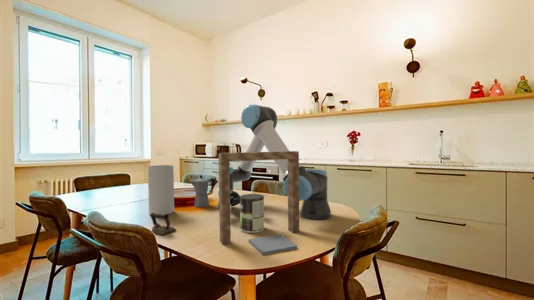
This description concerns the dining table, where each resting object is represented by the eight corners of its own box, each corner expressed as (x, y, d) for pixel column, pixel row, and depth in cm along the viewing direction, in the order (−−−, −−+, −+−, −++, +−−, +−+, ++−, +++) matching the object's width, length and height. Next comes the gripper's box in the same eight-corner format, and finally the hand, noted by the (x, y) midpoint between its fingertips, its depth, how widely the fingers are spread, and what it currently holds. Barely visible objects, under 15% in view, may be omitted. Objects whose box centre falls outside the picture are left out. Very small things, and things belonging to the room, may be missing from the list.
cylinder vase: (168, 208, 151) (167, 164, 151) (178, 213, 142) (177, 166, 142) (145, 213, 143) (144, 166, 142) (154, 217, 134) (153, 167, 133)
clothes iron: (164, 237, 106) (157, 213, 106) (146, 239, 112) (140, 216, 112) (177, 231, 112) (171, 208, 112) (160, 233, 118) (154, 211, 118)
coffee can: (240, 233, 109) (239, 199, 108) (240, 225, 119) (239, 194, 119) (265, 232, 110) (264, 198, 109) (263, 225, 120) (263, 193, 119)
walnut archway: (294, 229, 113) (293, 151, 113) (299, 232, 110) (298, 151, 109) (219, 241, 100) (218, 153, 100) (222, 244, 97) (221, 153, 96)
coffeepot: (193, 208, 151) (193, 176, 151) (188, 205, 159) (187, 175, 158) (218, 204, 160) (218, 174, 160) (212, 202, 168) (211, 173, 167)
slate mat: (280, 236, 104) (280, 234, 104) (297, 248, 93) (297, 245, 93) (248, 241, 99) (248, 239, 99) (262, 255, 87) (262, 252, 87)
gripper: (253, 202, 148) (269, 211, 128) (208, 207, 137) (217, 217, 118) (253, 189, 147) (269, 195, 128) (207, 192, 137) (217, 200, 118)
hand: (244, 206), depth 123 cm, fingers open, 13 cm apart
